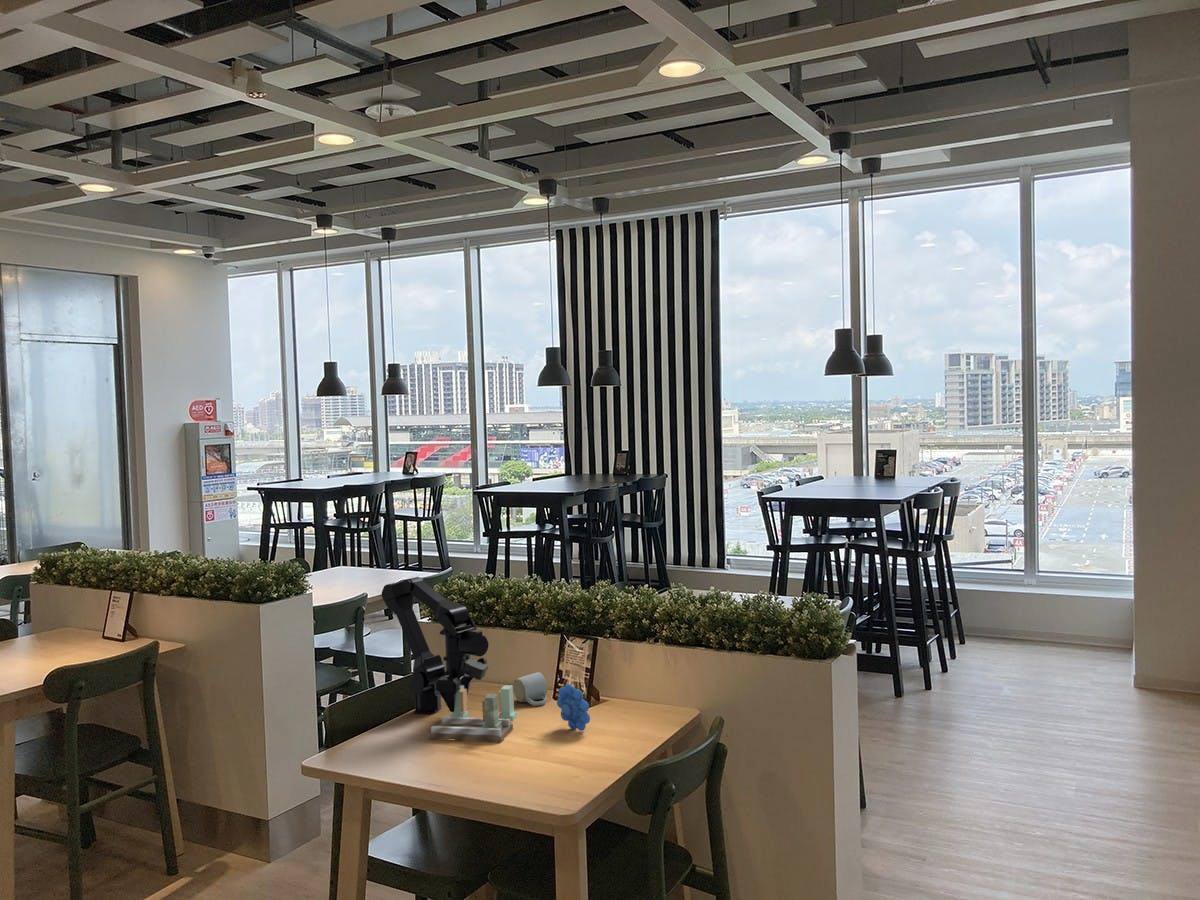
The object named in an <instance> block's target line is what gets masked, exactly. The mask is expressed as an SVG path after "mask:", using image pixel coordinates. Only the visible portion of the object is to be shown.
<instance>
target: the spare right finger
mask: <svg viewBox="0 0 1200 900" xmlns="http://www.w3.org/2000/svg"><path fill="white" fill-rule="evenodd" d="M497 694H498V713H500V714H499V719H510V721H513V722H515V720H516V719H517V718H518V711H516V710H515V708H514V706H515V703H514V701H515V700H514V691H513V684H511V685H508V684H507V685H503V686H502V687H501V688H500V690H498V693H497ZM516 717H517V718H516ZM514 719H515V720H514Z"/></svg>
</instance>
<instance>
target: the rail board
mask: <svg viewBox="0 0 1200 900" xmlns="http://www.w3.org/2000/svg"><path fill="white" fill-rule="evenodd" d="M481 703H482V704H481V708H482V717H450V716H442V717H441V722H440V723H439V724H437V725H431V727H430V732H429V733H428V740H434V739H455V740H454V741H458V740H468V741H467V742H482V741H483V742H486V741H488V743H502V742H503V741H504V740H505V739H506V738H507V737H508V735H510V734H511V732H512V731H513V730H514V724H513V723H511V722H510V719H499V715H500V714H499V698H498V693H488V694H487V695H486V696H485V697H484V698H483V700H481ZM505 737H506V738H505ZM504 738H505V739H504ZM483 742H482V743H483ZM486 743H487V742H486Z"/></svg>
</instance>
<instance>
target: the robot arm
mask: <svg viewBox="0 0 1200 900" xmlns="http://www.w3.org/2000/svg"><path fill="white" fill-rule="evenodd" d="M381 597H382V601H384V603H385V606H386V607H387V609H389V610H390V611H391V612H392V613H394V615H396V618H397V619H398V622H399V625H400V627H401V630H402V632H403V635H404V637H405V640H406V643H407V645H408V647H409V650H410V652H411V654H412V657H413V667H412V673H413V677H412V678H411V680H410V681H409V683H408V689H409V692H411V693H414V709H413V711H412V713H413V714H430V713H433V714H435V713H436V712H438V711H439V710H440V709H441V708H442V707H443V706H442V699H443V701H444V703H445V705H446V706H447V708H448V711H449V712H451V713H453V712H454V711H455V703H456V693H457V692H458V691H459V690H460V689H461V688H460V685H464V689H467V697H468V695H469V691H470V687H471V686H470V685H471V682H472V681H473V680H474V679H475V680H482V678H484V677H485V676H486V672H487V671H488V669H489V664H488V662H487V658H486V657H483V656H484V655H486V654H487V651H488V649H489V641H488V639H487V637H486V636H484V635H483V631H482V630H477V629H478V627H476V626H477V625H476V624H475V622H474V620H473V619H472V617H471V615H470V613H469V611H468V609H467V607H466V606H464V605H463V604H461V603H459V602H456V601H452V600H449V599H447V598H446V597H444V596H443V595H442V594H441V593H439V592H438V591H437V590H435V589H434V588H433V587H432V586H430V584H427V583H426V582H425V581H424V578H422V577H419V576H415V577H410V578H407V579H405V580H402V581H398V582H392V583H388V584H385V585H384V586H383V587H382V591H381ZM414 598H416V599H417V600H418V601H419V602H420V603H422V604H423V605H425V606H426V607H427V608H429V610H430V611H432V612H433V613H434V614H435V616H436V620H437V622H438V623H439V624H440V625H441V626H442V627H443V628H442V629H441V630H440V631H439V635H442V636H444V644H445V655H444V656H443V659H442V656H441V655H440V654H436V655H435V654H433V653H432V651H431V650H430V648H429V646H428V642H427V640H426V638H425V635H424V633H423V631H422V628H421V626H420V623H419V620H418V618H417V616H416V613H415V611H414V608H413V606H414V605H413V604H414ZM471 656H474V657H479V658H478V660H477V659H471ZM443 661H445V662H446V664H445V665H444V663H443ZM445 668H446V669H445ZM441 698H442V699H441ZM441 706H442V707H441ZM440 707H441V708H440ZM439 708H440V709H439ZM438 709H439V710H438ZM437 710H438V711H437ZM434 712H435V713H434Z"/></svg>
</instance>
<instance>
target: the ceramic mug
mask: <svg viewBox="0 0 1200 900" xmlns="http://www.w3.org/2000/svg"><path fill="white" fill-rule="evenodd" d="M512 685H513V696H514V697H515V699H516V700H517V701H518V702H520V703H528V704H530V705H532V706H534V707H535V706H536V707H539V705H541V706H543V705H545V704H546V702H547V698H548V697H547V695H548V684H547V680H546V679H545V676H544V675H543V674H542V673H541V672H539V671H538V672H534V673H531V674H527V675H524V676H520V677H518V678H516V679H515V680H514V681H513V684H512ZM542 699H543V700H542ZM537 700H540V701H537Z"/></svg>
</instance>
